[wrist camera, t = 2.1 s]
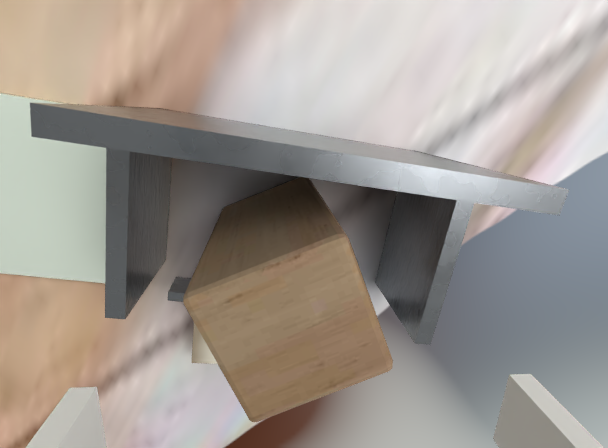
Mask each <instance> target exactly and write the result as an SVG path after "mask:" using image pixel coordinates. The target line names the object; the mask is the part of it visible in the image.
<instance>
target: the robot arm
mask: <svg viewBox="0 0 608 448" xmlns="http://www.w3.org/2000/svg"><path fill="white" fill-rule="evenodd" d="M493 439H494V441H495V442H496V443H497V445H498V447H499V448H604V447H603V446H602V445H601V444H600V443H599V442H598V441H597V440H596V439H595V438H594V437H593V436H592V435H591V434H590V433H589V432H588V431H587V430H586V429H585V428H584V427H583V426H582V425H581V424H580V423H579V422H578V421H577V420H576V419H575V418H574V417H573V416H572V415H571V414H570V413H569V412H568V411H567V410H566V409H565V408H564V407H563V406H562V405H561V404H560V403H559V402H558V401H557V400H556V399H555V398H554V397H553V396H552V395H551V394H550V393H549V392H548V391H547V390H546V389H545V388H544V387H543V386H542V385H541V384H540V383H539V382H538V381H537V380H536V379H535V378H534V377H533V376H532V375H531V374H516V375H509V378H508V382H507V386H506V390H505V395H504V399H503V402H502V406H501V410H500V414H499V418H498V422H497V426H496V430H495V434H494V438H493ZM26 448H107V446H106V440H105V434H104V428H103V421H102V415H101V409H100V403H99V397H98V391H97V387H81V388H69V390H68V391H67V392H66V394H65V395H64V396H63V398H62V399H61V401H60V402H59V403H58V405H57V406H56V407H55V409H54V410H53V411H52V413H51V414H50V415H49V417H48V418H47V419H46V421H45V422H44V423H43V425H42V426H41V428H40V429H39V430H38V432H37V433H36V434H35V436H34V437H33V438H32V440H31V441H30V442H29V444H28V445H27V446H26Z"/></svg>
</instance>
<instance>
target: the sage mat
mask: <svg viewBox="0 0 608 448" xmlns="http://www.w3.org/2000/svg"><path fill="white" fill-rule="evenodd" d="M30 103H52V104H66V103H60V102H54V101H47V100H41V99H35V98H29V97H23V96H17V95H11V94H5V93H0V273H3V274H14V275H24V276H35V277H45V278H55V279H66V280H76V281H86V282H97V283H105V263H106V148H103V147H97V146H90V145H83V144H76V143H70V142H63V141H56V140H50V139H43V138H36V137H31V117H30Z"/></svg>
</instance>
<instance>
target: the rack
mask: <svg viewBox="0 0 608 448" xmlns="http://www.w3.org/2000/svg"><path fill="white" fill-rule="evenodd" d="M30 117H31V137H36V138H43V139H50V140H56V141H63V142H70V143H76V144H83V145H90V146H97V147H103V148H106V263H105V318H116V319H126V317H127V316H128V314H129V313H130V311H131V310H132V309H133V307H134V306H135V304H136V303H137V301H138V300H139V298H140V297H141V295H142V294H143V292H144V291H145V289H146V288H147V287H148V285H149V284H150V282H151V281H152V279H153V278H154V276H155V275H156V273H157V272H158V270H159V269H160V267H161V266H162V265H163V263H164V262H165V260H166V249H167V233H168V216H169V199H170V182H171V165H172V158H177V159H184V160H191V161H197V162H204V163H211V164H218V165H224V166H231V167H238V168H244V169H251V170H258V171H265V172H271V173H278V174H285V175H291V176H298V177H305V178H312V179H318V180H325V181H332V182H338V183H345V184H352V185H359V186H365V187H372V188H379V189H385V190H392V191H397V195H396V199H395V203H394V208H393V212H392V216H391V220H390V224H389V228H388V232H387V236H386V240H385V244H384V248H383V253H382V257H381V261H380V265H379V269H378V273H377V277H376V281H375V283H376V284H377V286H378V287H379V289H380V290H381V292H382V293H383V295H384V297H385V298H386V300H387V301H388V303H389V304H390V306H391V307H392V309H393V310H394V312H395V314H396V315H397V317H398V318H399V320H400V321H401V323H402V324H403V326H404V327H405V329H406V331H407V332H408V334H409V335H410V337H411V338H412V340H413V341H414V343H417V344H429V345H430V344H431V341H432V337H433V334H434V331H435V328H436V324H437V321H438V318H439V315H440V311H441V308H442V305H443V302H444V299H445V295H446V292H447V289H448V286H449V283H450V279H451V276H452V273H453V270H454V266H455V263H456V260H457V257H458V254H459V250H460V247H461V244H462V241H463V238H464V234H465V231H466V228H467V225H468V221H469V218H470V215H471V212H472V208H473V205H474V203H480V204H486V205H493V206H500V207H506V208H513V209H520V210H527V211H533V212H540V213H547V214H554V215H560V213H561V210H562V207H563V205H564V202H565V200H566V197H567V194H568V192H569V190H568V189H564V188H560V187H556V186H552V185H548V184H545V183H541V182H537V181H533V180H529V179H525V178H521V177H517V176H513V175H509V174H505V173H501V172H497V171H493V170H489V169H485V168H481V167H478V166H474V165H470V164H466V163H462V162H458V161H454V160H450V159H446V158H442V157H438V156H434V155H430V154H426V153H422V152H417V151H411V150H405V149H399V148H394V147H388V146H382V145H376V144H370V143H364V142H358V141H352V140H346V139H340V138H334V137H328V136H322V135H316V134H310V133H304V132H298V131H292V130H286V129H280V128H274V127H268V126H262V125H256V124H250V123H244V122H238V121H233V120H227V119H221V118H215V117H209V116H203V115H197V114H191V113H185V112H179V111H173V110H167V109H161V108H144V107H121V106H98V105H75V104H52V103H30ZM191 279H192V278H182V277H176V279H175V280H174V282H173V284H172V286H171V288H170V290H169V291H168V300H170V301H181V302H183V296H184V294H185V292H186V290H187V287H188V285H189V283H190V281H191Z"/></svg>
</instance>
